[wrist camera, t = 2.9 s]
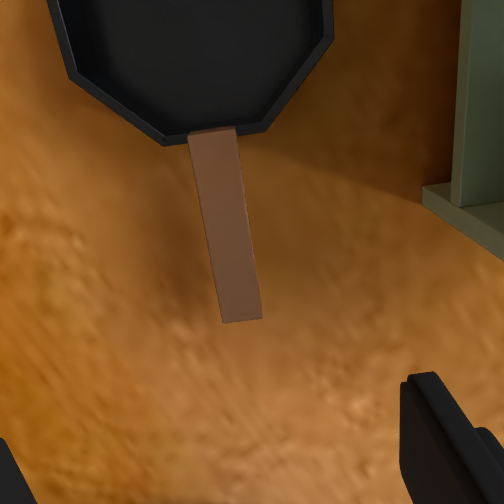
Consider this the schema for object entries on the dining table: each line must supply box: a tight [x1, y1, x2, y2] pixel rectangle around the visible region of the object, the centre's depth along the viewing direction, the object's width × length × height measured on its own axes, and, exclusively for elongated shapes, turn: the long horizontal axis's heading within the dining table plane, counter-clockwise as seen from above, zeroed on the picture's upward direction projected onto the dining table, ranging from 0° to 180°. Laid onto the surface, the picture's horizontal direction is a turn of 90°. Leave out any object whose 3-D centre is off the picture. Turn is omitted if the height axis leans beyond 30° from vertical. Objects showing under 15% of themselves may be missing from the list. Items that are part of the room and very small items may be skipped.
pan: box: [46, 0, 335, 323], centre depth 20 cm, size 12×22×5 cm, turn 8°
